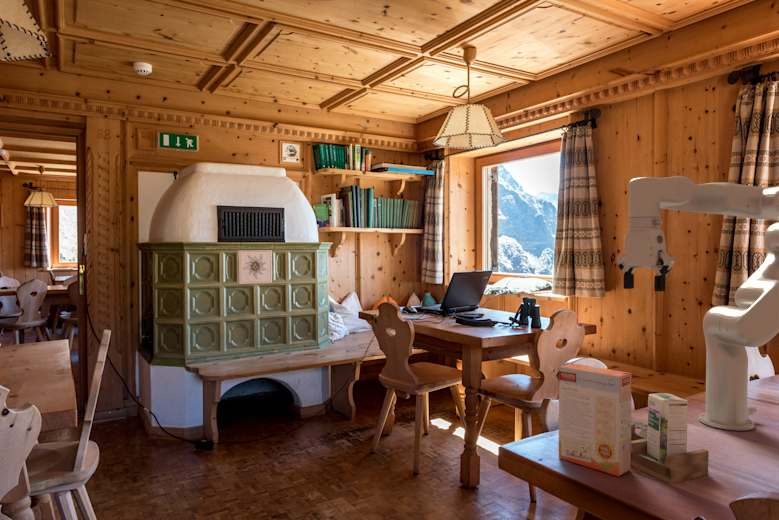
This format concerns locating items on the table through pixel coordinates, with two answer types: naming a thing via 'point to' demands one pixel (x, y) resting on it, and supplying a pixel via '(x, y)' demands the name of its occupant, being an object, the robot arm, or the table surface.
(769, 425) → the table surface
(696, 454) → the tray
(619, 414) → the cracker box
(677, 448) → the syrup box
